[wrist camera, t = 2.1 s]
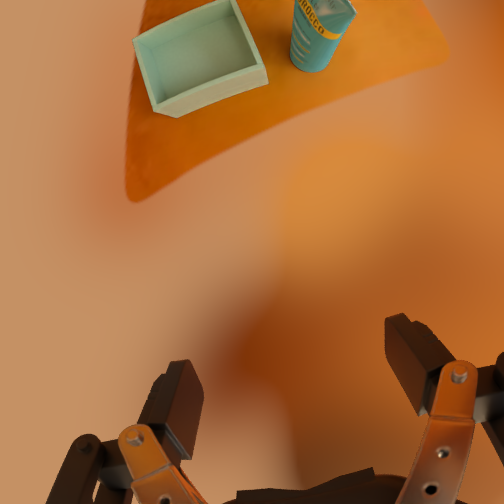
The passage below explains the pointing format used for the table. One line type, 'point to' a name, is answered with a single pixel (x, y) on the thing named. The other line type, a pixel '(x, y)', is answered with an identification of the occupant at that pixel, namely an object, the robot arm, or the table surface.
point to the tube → (318, 31)
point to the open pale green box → (199, 59)
